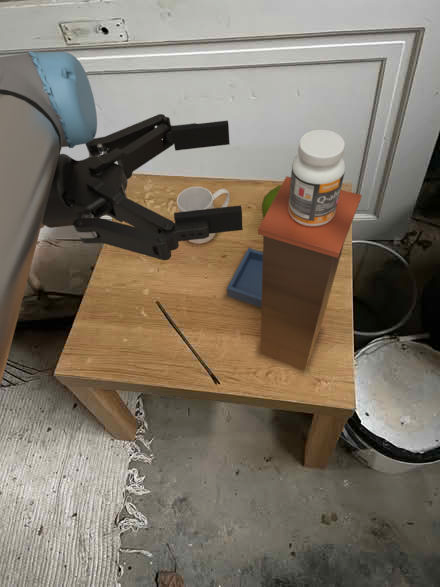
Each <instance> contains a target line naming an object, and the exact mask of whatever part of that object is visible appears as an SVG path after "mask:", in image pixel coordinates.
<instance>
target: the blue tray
mask: <svg viewBox="0 0 440 587" xmlns="http://www.w3.org/2000/svg"><path fill="white" fill-rule="evenodd" d="M262 270H263V251H260V250H257V249H253V248H250V247H248V248H247V249H246V251H245V253H244V255H243V257H242V259H241V260H240V262H239V264H238V266H237V268H236V270H235V273H234V274H233V276H232V278H231V279H230V281H229V283H228V285H227V287H226V292H227V294H226V295H227V297H229V298H232V299H234V300H238V301H241V302H244V303H246V304H249V305H252V306H255V307H257V308H261V306H262Z"/></svg>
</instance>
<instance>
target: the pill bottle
mask: <svg viewBox="0 0 440 587" xmlns="http://www.w3.org/2000/svg"><path fill="white" fill-rule="evenodd" d="M345 147H346V143H345V140H344V138H343V137H342V136H341V135H340V134H338V133H337V132H336V131H331V130H328V129H313V130H311V131H308V132H306V133H304V134H303V135H302V136H301V138H300V139H299V141H298V149H297V155H296V156H295V157H294V159H293V161H292V164H291V173H290V177H291V183H290V194H289V206H288V209H289V213H290V215H291V217H292V218H293V219H294V220H295V221H296V222H298V223H299V224H302V225H305V226H320V225H323V224H326V223H327V222H329V221H330V220H331V219H332V218H333V216H334V214H335V211H336V207H337V203H338V199H339V194H340V190H342V187H343V186H342V185H343V181H344V177H345V173H346V162H345V159H344V158H343V156H344V153H345V149H346V148H345Z"/></svg>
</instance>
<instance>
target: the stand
mask: <svg viewBox="0 0 440 587" xmlns="http://www.w3.org/2000/svg"><path fill="white" fill-rule="evenodd" d="M290 183H291V176H285V178H284V180H283V182H282V184H280V185H281V187H280V189H279V191H278V193H277V195H276V197H275V199H274V200H273V202H272V204H271V206H270V208H269V210H268V212H267V213H266V215H265V217H263V219H262V221H261V222H260V224H259V227H258V229H257V235H259V236H262V238H263V241H262V252H263V270H262V306H261V309H260V310H261V312H260V344H259V345H260V347H259V349H260V350H259V353H260V355H263V356H265V357H268V358H271V359H273V360H276V361H278V362H281V363H283V364H285V365H289V366H292V367H294V368H297V369H300V370H302V371H306V369H307V366H308V364H309V360H310V358H311V356H312V353H313V350H314V347H315V344H316V342H317V339H318V338H319V337H318V336H319V334H320V332H321V328H322V325H323V321H324V317H325V314H326V309H327V306H328V302H329V299H330V296H331V292H332V288H333V284H334V282H335V277H336V273H337V270H338V266H339V263H340V259H341V256H342V252H343V249H344V245H345V241H346V239H347V236H348V234H349V231H350V228H351V226H352V224H353V221H354V218H355V215H356V213H357V210H358V207H359V206H360V202H361V200H362V196H363V195H362V194H359V193H355V192H351V191H347V190H343V189H341V190H340V194H339V199H338V203H337V207H336V211H335V214H334V216H333V218H332V219H331V220H330V221H329V222H327V223H326V224H323V225H320V226H305V225H302V224H299V223H298V222H296V221H295V220H294V219H293V218H292V217H291V215H290V213H289V209H288V206H289V194H290Z"/></svg>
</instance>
